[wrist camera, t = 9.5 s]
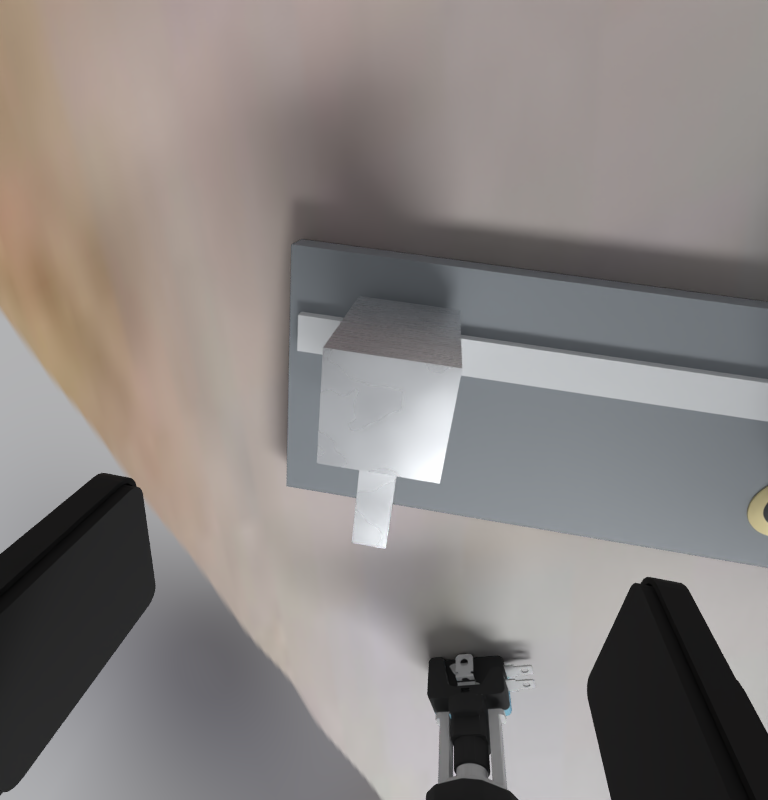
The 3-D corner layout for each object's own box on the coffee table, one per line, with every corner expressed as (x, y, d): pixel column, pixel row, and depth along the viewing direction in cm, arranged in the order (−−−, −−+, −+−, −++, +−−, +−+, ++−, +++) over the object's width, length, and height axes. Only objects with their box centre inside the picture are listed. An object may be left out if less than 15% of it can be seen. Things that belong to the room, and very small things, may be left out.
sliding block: (459, 308, 19) (462, 368, 14) (431, 461, 22) (424, 560, 17) (360, 294, 19) (323, 347, 14) (347, 447, 23) (312, 541, 17)
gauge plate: (1003, 333, 19) (1308, 427, 12) (838, 560, 24) (986, 712, 17) (301, 239, 21) (229, 275, 14) (295, 469, 26) (240, 575, 19)
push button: (523, 632, 29) (554, 838, 20) (539, 689, 31) (573, 898, 22) (418, 643, 31) (403, 838, 22) (439, 696, 33) (434, 894, 24)
